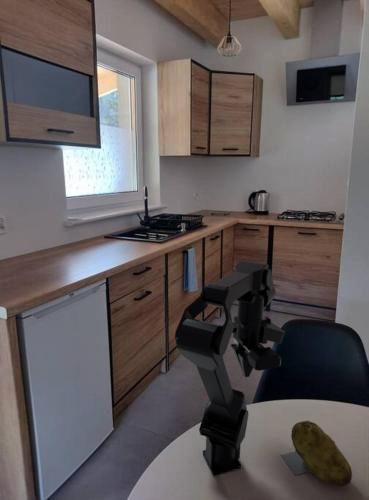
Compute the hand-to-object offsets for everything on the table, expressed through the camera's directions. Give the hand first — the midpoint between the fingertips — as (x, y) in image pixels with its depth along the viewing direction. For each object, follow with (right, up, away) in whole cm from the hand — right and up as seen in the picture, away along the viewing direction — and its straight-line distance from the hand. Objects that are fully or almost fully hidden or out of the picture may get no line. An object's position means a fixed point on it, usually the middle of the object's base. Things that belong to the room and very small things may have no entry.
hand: (246, 376), depth 85 cm
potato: (+13, -16, -10) cm, 23 cm away
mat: (+12, -15, -8) cm, 21 cm away
